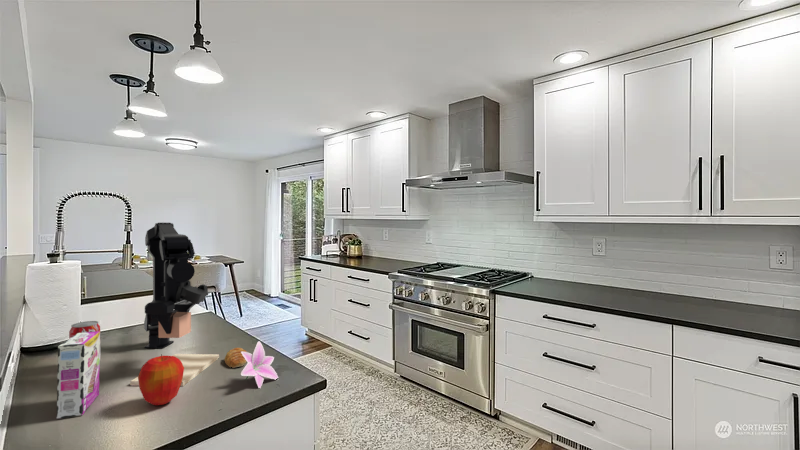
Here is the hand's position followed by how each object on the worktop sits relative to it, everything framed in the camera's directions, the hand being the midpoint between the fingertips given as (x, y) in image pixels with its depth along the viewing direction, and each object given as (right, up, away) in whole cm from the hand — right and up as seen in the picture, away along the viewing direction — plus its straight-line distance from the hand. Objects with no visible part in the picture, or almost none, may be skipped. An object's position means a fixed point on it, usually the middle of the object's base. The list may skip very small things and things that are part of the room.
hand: (175, 330), depth 110 cm
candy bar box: (-9, -12, -22) cm, 27 cm away
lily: (+28, -12, -8) cm, 31 cm away
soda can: (-27, -11, +1) cm, 30 cm away
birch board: (+2, -12, -1) cm, 12 cm away
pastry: (+16, -12, +6) cm, 21 cm away
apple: (+9, -12, -20) cm, 25 cm away
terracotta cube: (0, -1, 0) cm, 1 cm away
